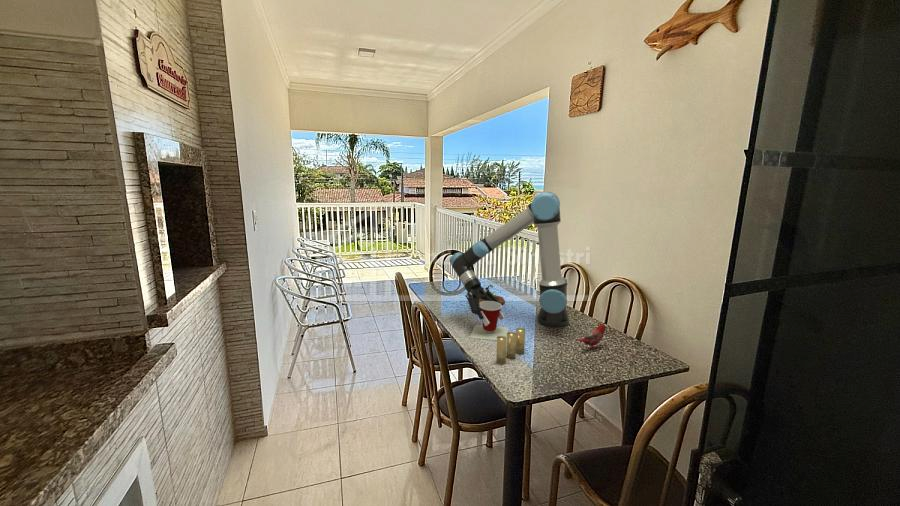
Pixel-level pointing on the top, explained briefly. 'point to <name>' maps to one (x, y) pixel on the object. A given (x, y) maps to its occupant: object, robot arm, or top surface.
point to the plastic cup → (490, 313)
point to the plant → (495, 297)
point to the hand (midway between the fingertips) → (495, 321)
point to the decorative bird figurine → (594, 336)
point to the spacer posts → (510, 345)
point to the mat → (488, 333)
